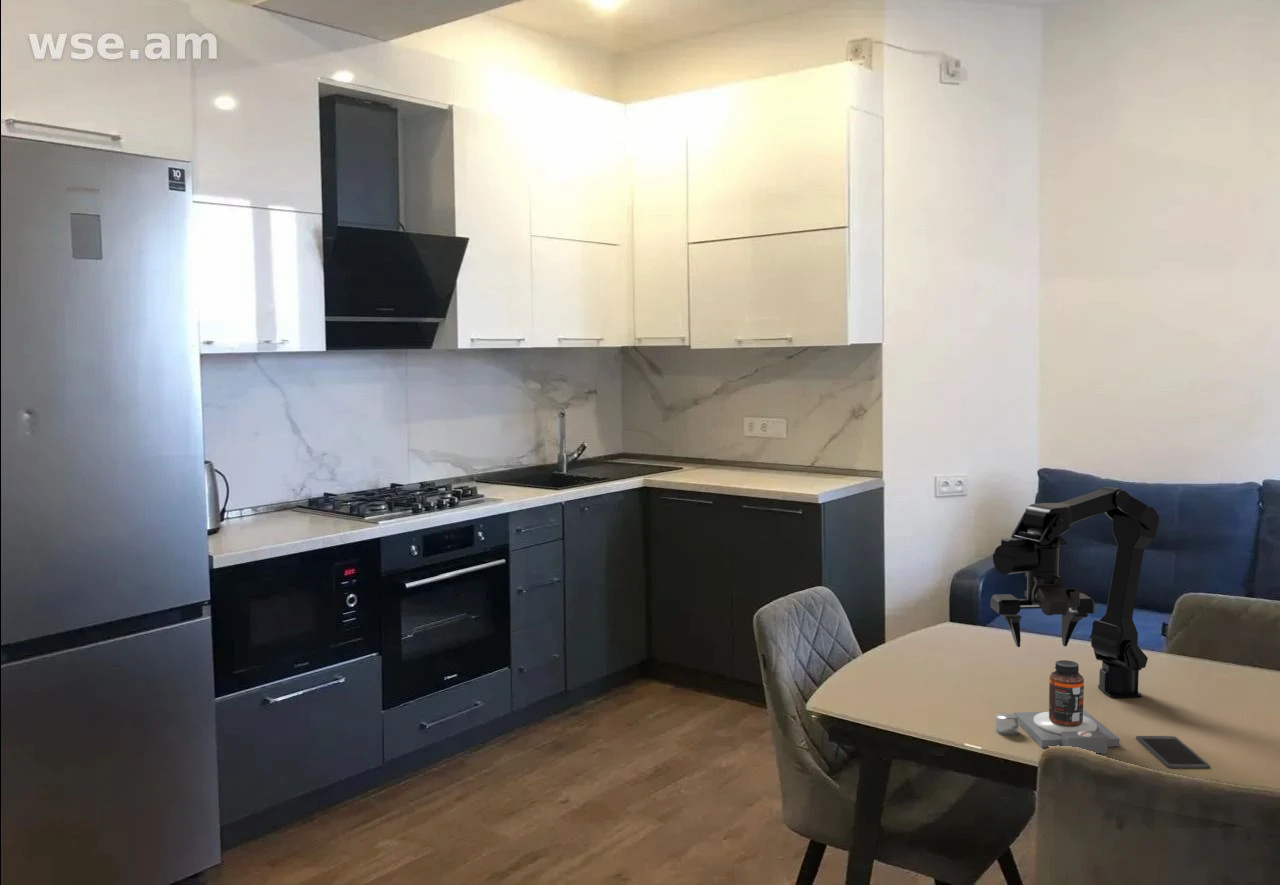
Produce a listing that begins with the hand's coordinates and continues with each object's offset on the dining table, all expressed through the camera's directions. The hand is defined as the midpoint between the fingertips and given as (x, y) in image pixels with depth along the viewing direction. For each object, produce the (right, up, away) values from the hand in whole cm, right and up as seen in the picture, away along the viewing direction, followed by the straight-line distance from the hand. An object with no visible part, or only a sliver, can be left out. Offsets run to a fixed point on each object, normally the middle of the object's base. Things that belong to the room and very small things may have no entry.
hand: (1041, 646), depth 204 cm
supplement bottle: (0, -12, -11) cm, 16 cm away
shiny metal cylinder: (-10, -14, -10) cm, 20 cm away
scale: (0, -14, -12) cm, 19 cm away
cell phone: (+15, -15, -21) cm, 30 cm away
